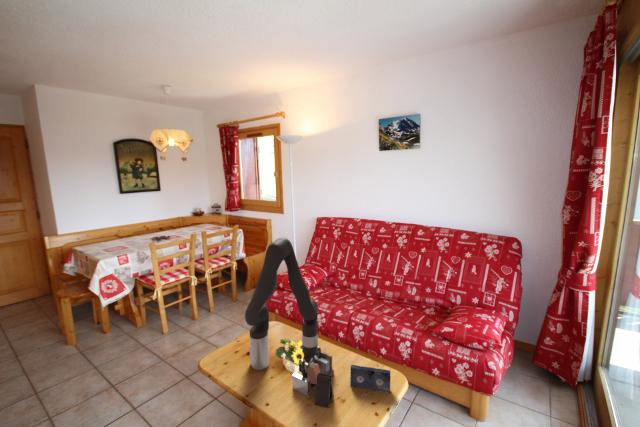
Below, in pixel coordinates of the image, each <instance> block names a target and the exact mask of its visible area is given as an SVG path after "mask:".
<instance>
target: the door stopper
mask: <svg viewBox="0 0 640 427" xmlns="http://www.w3.org/2000/svg"><path fill="white" fill-rule="evenodd" d="M333 395H334V388H333V382H332V377H331V375H326V374H321V373H318V375H317V386H316V393H315V400H314V405H315V406H319V407H322V408H329V407H330V404H331V401H332V399H333Z"/></svg>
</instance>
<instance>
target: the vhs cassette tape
mask: <svg viewBox="0 0 640 427" xmlns="http://www.w3.org/2000/svg"><path fill="white" fill-rule="evenodd" d="M349 379H350V385H349V386H350V387H351V388H357V389H362V390H370V391H375V392H380V391H381V392H380V393H386V392H390V393H391V370H388V369H384V368H383V369H382V368H377V367H376V368H375V367H371V366H370V367H368V366H362V365H361V366H360V365H355V364H351V365H350V378H349Z"/></svg>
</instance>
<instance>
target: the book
mask: <svg viewBox="0 0 640 427" xmlns="http://www.w3.org/2000/svg"><path fill="white" fill-rule="evenodd" d="M305 364H307V365H308V363H306V362H305ZM301 369H302V368H301ZM305 369H306V366H305ZM300 373H301V374H302V372H300ZM318 373H320V369H319V365H318V364H317V363H311V364H310V367H308V370H307V379H309V380H310V384H313V385H316V384H317V375H318Z"/></svg>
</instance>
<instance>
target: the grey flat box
mask: <svg viewBox="0 0 640 427" xmlns="http://www.w3.org/2000/svg"><path fill="white" fill-rule="evenodd" d="M292 389H293V390H295V391H297V392H298V393H301V394H303V395H304V396H306V397H307V393H308V392H309V391H310V390H311V383H310V380H309V379H307V378H305V377H303V376H302V374H299V373H297V372H294V373H293V374H292Z"/></svg>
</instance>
